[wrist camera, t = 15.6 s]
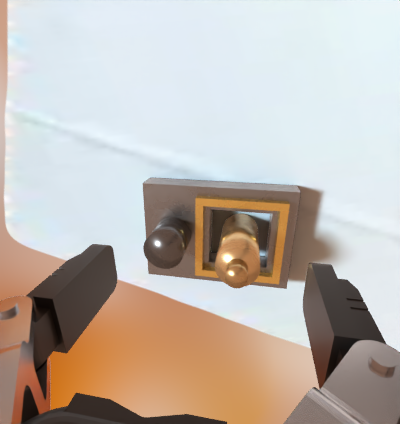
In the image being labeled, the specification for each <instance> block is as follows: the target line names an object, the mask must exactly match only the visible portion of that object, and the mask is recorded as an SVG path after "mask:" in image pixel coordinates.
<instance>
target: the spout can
mask: <svg viewBox="0 0 400 424" xmlns="http://www.w3.org/2000/svg"><path fill="white" fill-rule="evenodd" d="M215 271H216V274H217V276H218V277H219V278H220V279H221V280H222V281H223V282H224V283H226V284H228V285H229V286H231V287H233V288H241V287H244V286H247V285H250V284H251V283H253V282H254V281H255V280H256V279H257V278H258V276H259V273H260V255H259V238H258V226H257V223H256V222H255V220H254V219H253V218H252V217H250V216H248V215H246V214H234V215H232V216H230V217H229V218H228V219H227V220H226V221H225V222H224V225H223V229H222V234H221V238H220V243H219V248H218V252H217V257H216V261H215Z"/></svg>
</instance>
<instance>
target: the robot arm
mask: <svg viewBox="0 0 400 424" xmlns="http://www.w3.org/2000/svg"><path fill="white" fill-rule="evenodd" d="M116 284H117V272H116V266H115V259H114V252H113V248H112V247H111V246H109V245H98V244H92V245H91V246H89V247H88V248H87V249H86V250H85V251H84V252H83V253H81V254H79V255H77V256H76V257H74V258H72V259H70V260H68V261H66V262H65V263H64V264H63V265H62V266H61V267H59V269H57V270H56V271H55V272H54V273H52V276H51V275H50V276H49V277H48V278H46V279H45V280H44V281H43V282H42V283H41V284H39V285H38V286H37V287H36V288H35V289H34V290H32V291H31V292H30V293H29V294H28V295H26V296H14V297H10V298H6V299H4V300H1V301H0V424H227V422H225V421H219V420H214V419H209V418H204V417H198V416H194V415H188V414H184V415H172V416H161V417H150V418H144V417H141V416H139V415H137V414H136V413H134V412H132V411H130V410H128V409H126V408H125V407H123V406H121V405H119V404H118V403H116V402H114V401H112V400H110V399H105V398H100V397H95V396H90V395H85V394H79V393H76V394H75V395H74V397H73V398H72V400H71V402H70V403H69V405H68V406H66V407H61V408H56V409H53V410H50V359H49V356H50V355H51V353H52V352H53V351H56V352H62V353H68V351H69V350H70V349H71V347H72V346H73V345H74V343H75V342H76V341H77V339H78V338H79V336H80V335H81V334H82V333H83V331H84V330H85V329H86V327H87V326H88V324H89V323H90V322H91V321H92V319H93V318H94V316H95V315H96V314H97V313H98V311H99V310H100V309H101V307H102V306H103V304H104V303H105V302H106V301H107V299H108V298H109V297H110V295H111V294H112V293H113V291H114V289H115V287H116ZM303 312H304V317H305V322H306V327H307V331H308V336H309V341H310V346H311V350H312V355H313V360H314V364H315V369H316V374H317V378H318V383H319V388H320V390H318V389H317V388H315V387H314V388H312V389H310V391H308V393H307V394H306V395H305V396H304V398H303V399H302V400H301V402H300V403H299V404H298V406H297V407H296V408H295V409H294V411H293V412H292V413H291V415H290V416H289V417H288V418H287V420H286V421H285V422H284V424H400V352H398V351H397V350H396V349H394V348H392V347H390V346H388V345H387V344H386V343H385V341H384V339H383V337H382V335H381V333H380V331H379V329H378V327H377V325H376V323H375V321H374V320H373V318H372V316H371V314H370V312H369V311H368V308H367V306H366V304H365V302H363V298H362V297H361V295H360V293H359V291H358V289H357V288H356V287H354V286H353V285H352V284H351V283H350V282H349V281H348V280H344V279H338V278H337V276H336V274H335V272H334V269H333V267H332V265H329V264H317V263H309V265H308V270H307V276H306V283H305V290H304V296H303Z"/></svg>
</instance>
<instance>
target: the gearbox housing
mask: <svg viewBox="0 0 400 424" xmlns="http://www.w3.org/2000/svg"><path fill="white" fill-rule="evenodd" d="M143 194H144V210H145V225H146V241H145V243H144V254H145V256H146V258H147V259H148V271H149V274H157V275H166V276H175V277H184V278H193V279H203V280H212V281H221V282H223V281H222V280H221V279H220V278H219V277H218V276H217V274H216V271H215V261H216V257H217V252H211V246H212V213H213V210H228V211H242V212H256V213H270V220H269V229H268V238H267V247H266V256H265V257H262V256H260V273H259V276H258V278H257V279H256V280H255V281H254V282H253V283H251V284H250V285H258V286H267V287H276V288H285V289H286V288H287V281H288V275H289V268H290V261H291V255H292V248H293V241H294V235H295V228H296V221H297V214H298V208H299V201H300V194H301V192H300V190H299V188H298V187H297V186H294V185H276V184H257V183H239V182H221V181H202V180H184V179H166V178H149V179H148V180H146V181H145V182H144V183H143Z"/></svg>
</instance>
